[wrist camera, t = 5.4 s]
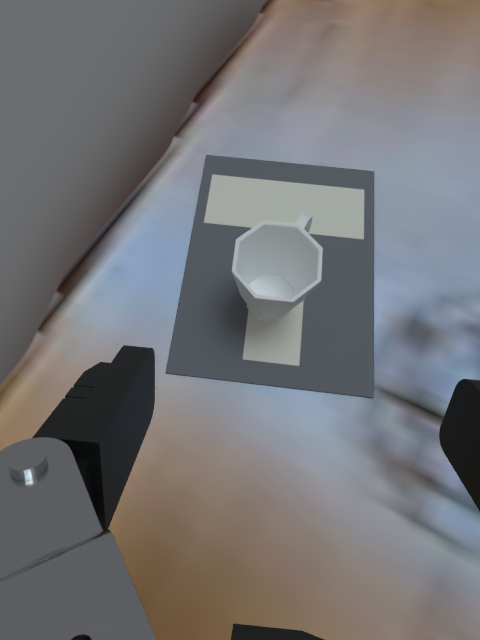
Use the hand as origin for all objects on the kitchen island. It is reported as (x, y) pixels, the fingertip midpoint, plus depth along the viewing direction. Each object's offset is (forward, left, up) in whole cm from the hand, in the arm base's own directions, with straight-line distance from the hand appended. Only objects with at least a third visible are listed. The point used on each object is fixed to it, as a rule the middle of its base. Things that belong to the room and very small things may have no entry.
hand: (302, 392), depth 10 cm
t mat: (+12, -11, -23) cm, 28 cm away
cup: (+10, -9, -23) cm, 27 cm away
